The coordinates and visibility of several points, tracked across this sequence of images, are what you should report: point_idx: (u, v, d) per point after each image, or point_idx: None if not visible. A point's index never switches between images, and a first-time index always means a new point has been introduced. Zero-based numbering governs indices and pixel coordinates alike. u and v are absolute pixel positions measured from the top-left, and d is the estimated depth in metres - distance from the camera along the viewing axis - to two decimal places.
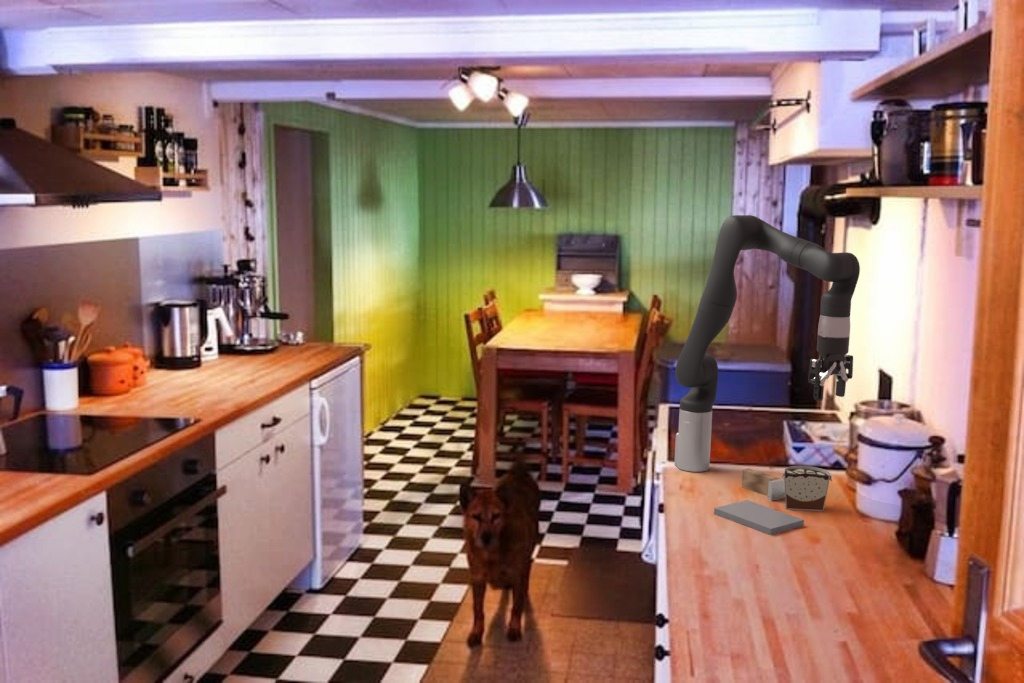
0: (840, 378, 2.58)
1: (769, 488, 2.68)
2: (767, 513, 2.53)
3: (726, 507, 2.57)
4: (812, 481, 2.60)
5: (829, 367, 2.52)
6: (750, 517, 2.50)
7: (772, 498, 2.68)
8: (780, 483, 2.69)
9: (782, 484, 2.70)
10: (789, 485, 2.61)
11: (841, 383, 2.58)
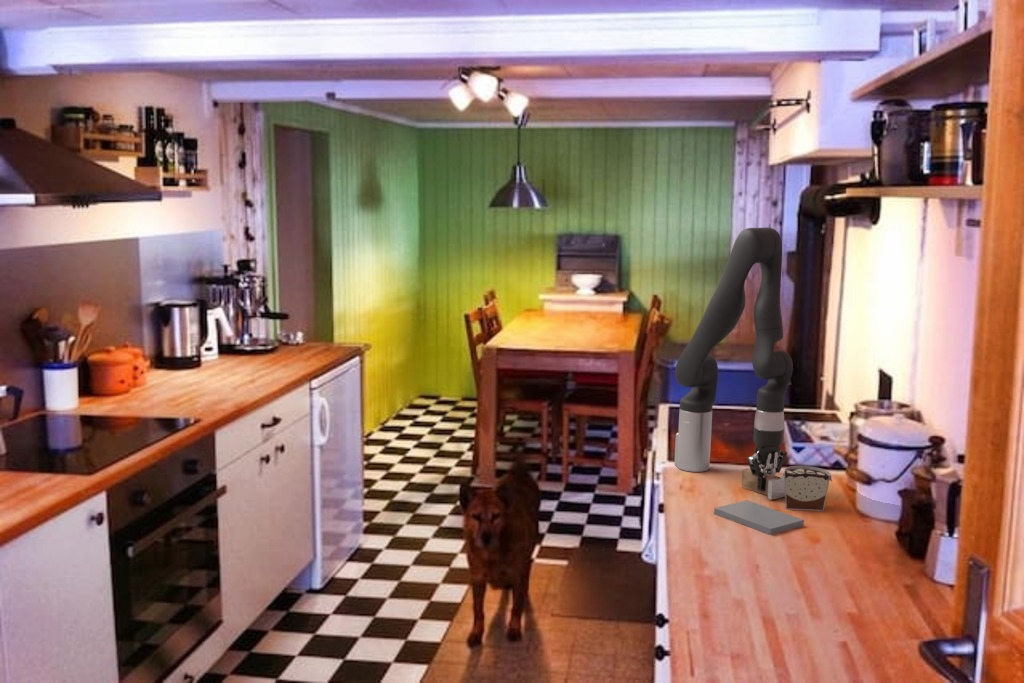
0: (768, 472, 2.74)
1: (769, 487, 2.68)
2: (767, 513, 2.53)
3: (726, 507, 2.57)
4: (812, 481, 2.60)
5: (766, 460, 2.70)
6: (750, 517, 2.50)
7: (772, 497, 2.68)
8: (780, 482, 2.69)
9: (782, 482, 2.70)
10: (789, 485, 2.61)
11: None
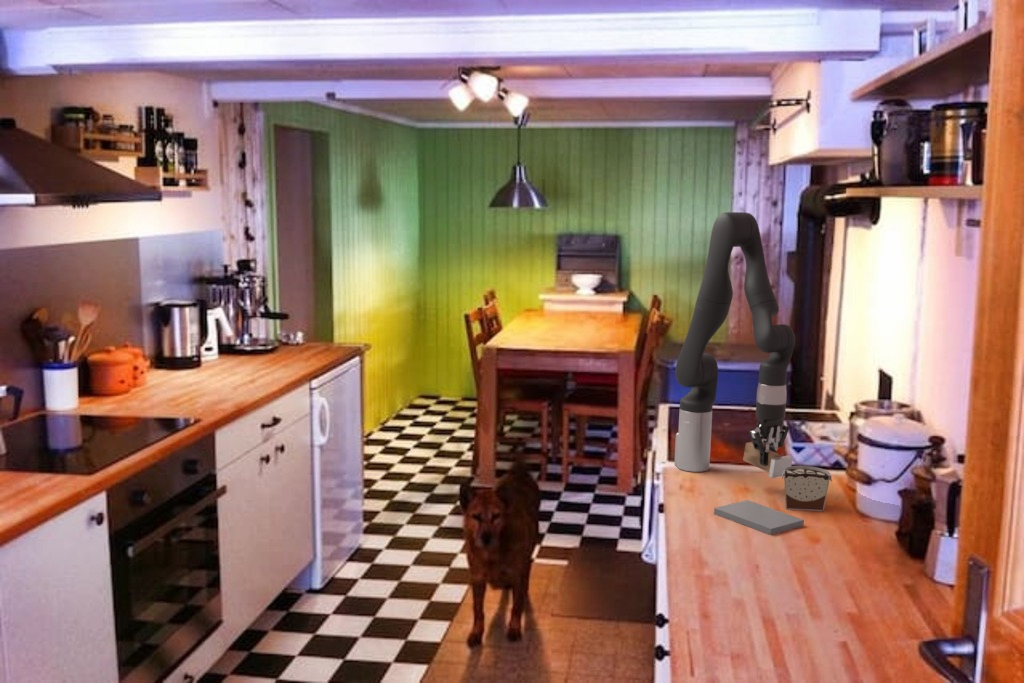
0: (771, 447, 2.73)
1: (771, 466, 2.67)
2: (767, 513, 2.53)
3: (726, 507, 2.57)
4: (812, 481, 2.60)
5: (768, 434, 2.69)
6: (750, 517, 2.50)
7: (773, 475, 2.67)
8: (783, 461, 2.68)
9: (784, 462, 2.68)
10: (789, 485, 2.61)
11: None
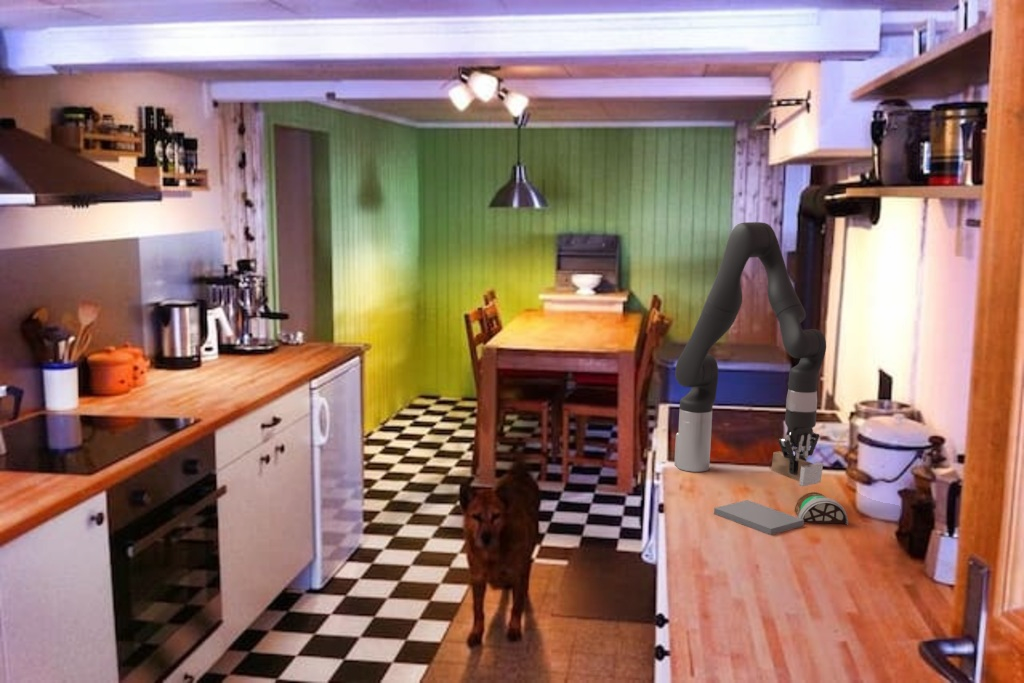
0: (801, 455, 2.65)
1: (801, 473, 2.59)
2: (767, 513, 2.53)
3: (726, 507, 2.57)
4: None
5: (798, 442, 2.61)
6: (750, 517, 2.50)
7: (804, 484, 2.59)
8: (813, 469, 2.60)
9: (814, 469, 2.61)
10: None
11: None
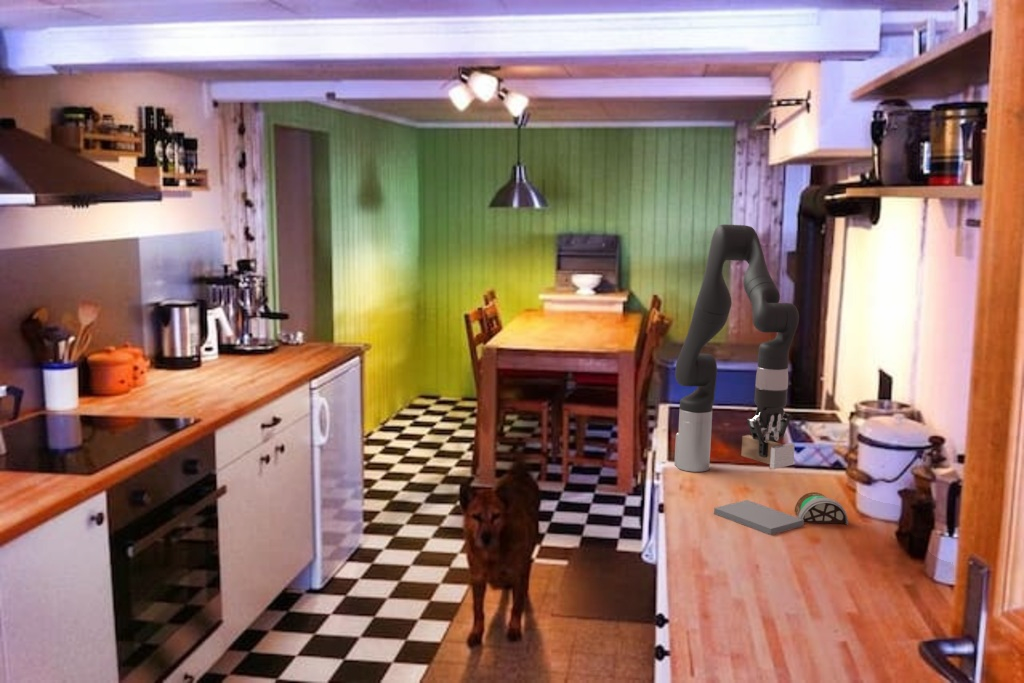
0: (771, 436, 2.49)
1: (771, 455, 2.44)
2: (767, 513, 2.53)
3: (726, 507, 2.57)
4: None
5: (768, 422, 2.46)
6: (750, 517, 2.50)
7: (775, 466, 2.43)
8: (784, 449, 2.45)
9: (785, 450, 2.45)
10: None
11: None
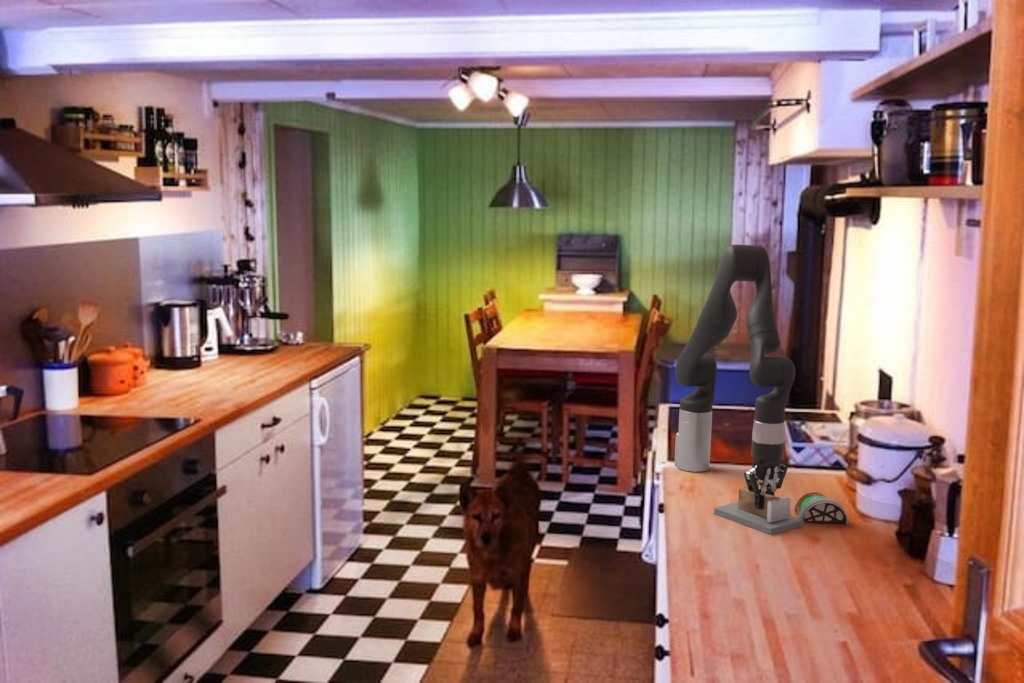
0: (768, 488, 2.52)
1: (768, 509, 2.46)
2: None
3: (726, 507, 2.57)
4: None
5: (764, 475, 2.48)
6: (750, 517, 2.50)
7: (772, 519, 2.45)
8: (780, 503, 2.47)
9: (782, 503, 2.47)
10: None
11: (769, 493, 2.51)
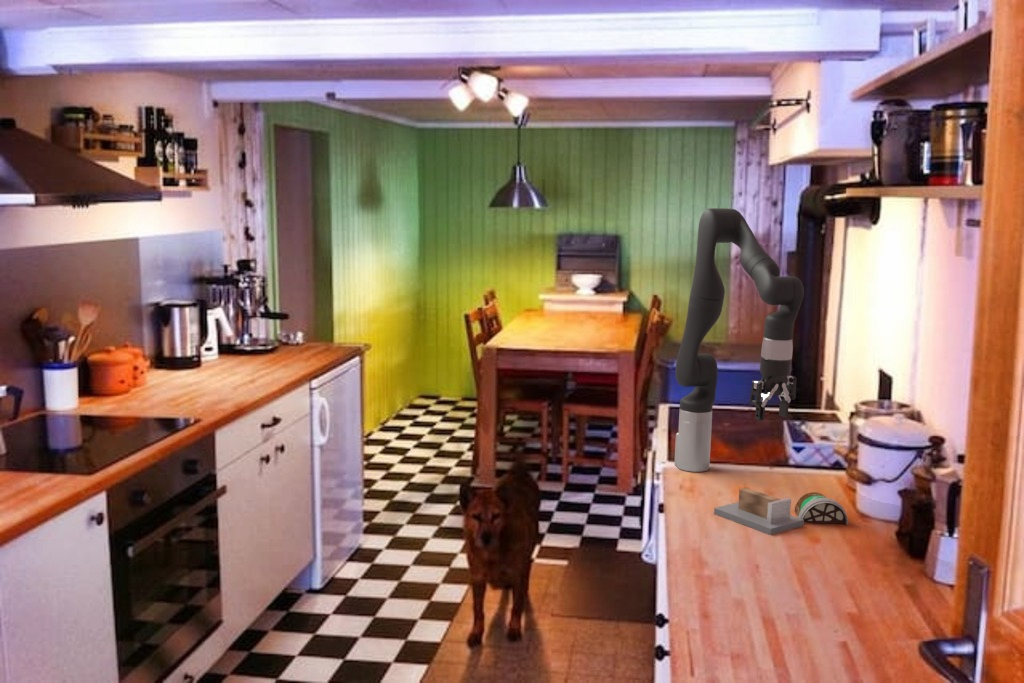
0: (783, 399, 2.62)
1: (768, 510, 2.46)
2: None
3: (726, 507, 2.57)
4: None
5: (771, 389, 2.56)
6: (750, 517, 2.50)
7: (772, 521, 2.46)
8: (780, 505, 2.47)
9: (782, 505, 2.47)
10: None
11: (784, 404, 2.62)
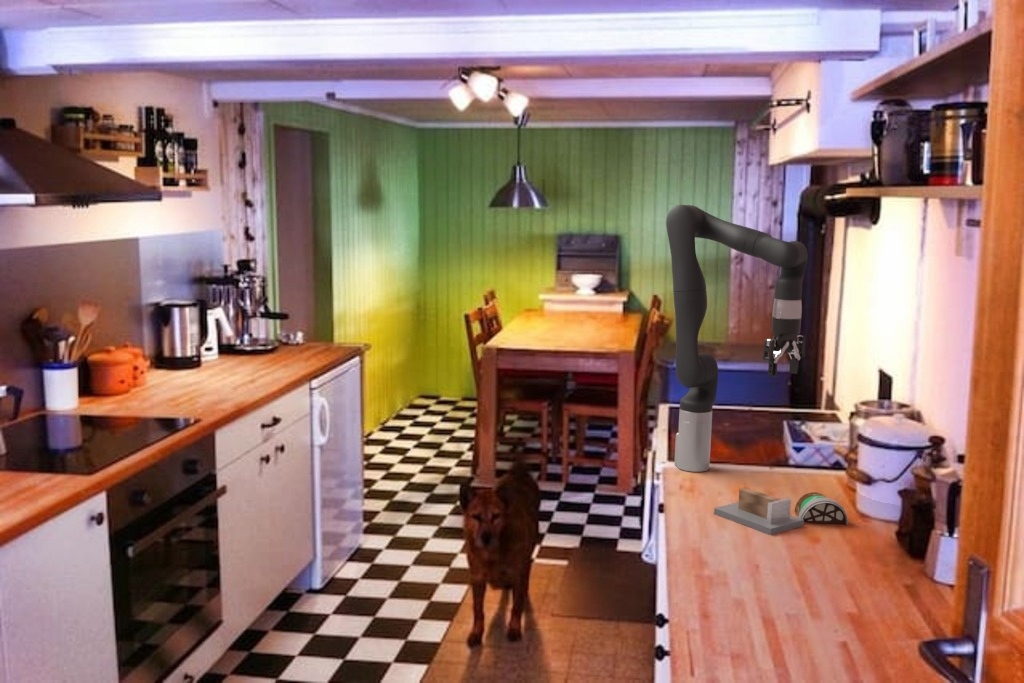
0: (793, 356, 2.82)
1: (768, 510, 2.46)
2: None
3: (726, 507, 2.57)
4: None
5: (782, 346, 2.76)
6: (750, 517, 2.50)
7: (772, 521, 2.46)
8: (780, 505, 2.47)
9: (782, 505, 2.47)
10: None
11: (794, 361, 2.81)
